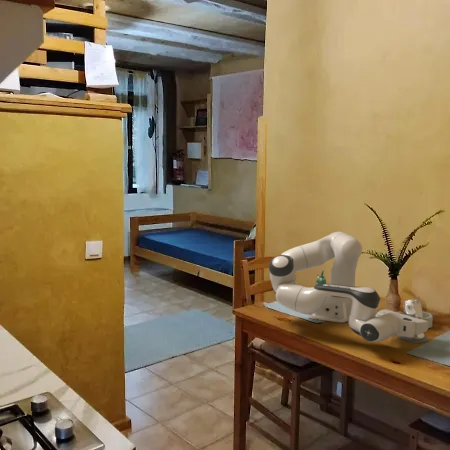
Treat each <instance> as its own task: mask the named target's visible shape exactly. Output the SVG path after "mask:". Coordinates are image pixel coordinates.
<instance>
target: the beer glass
mask: <svg viewBox="0 0 450 450" xmlns="http://www.w3.org/2000/svg"><path fill="white" fill-rule="evenodd" d="M402 304H403V314H404V315H407V316H411V317H415V318H418V319H419V318H421V317H422V318H423V315H422V311H423V307H422V304H421V300H419V299H417V298H416V299H415V298H410V299H405V300H404V301H403V302H402ZM425 335H426V334H425V332H424V333H421V334H418V335H414V337H409V338H410V339H414V340H418V339H422V338H424V336H425Z"/></svg>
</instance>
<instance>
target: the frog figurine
mask: <svg viewBox="0 0 450 450" xmlns="http://www.w3.org/2000/svg"><path fill="white" fill-rule="evenodd" d="M324 272H325V271H324V269H323V270H321V274H320V276H319V274H317V275H316V276H317V277H316V278H317V280H316V282H315V285H317V284H321V283H326V284H327V279H326V277H325V276H324Z"/></svg>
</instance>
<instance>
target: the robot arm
mask: <svg viewBox="0 0 450 450" xmlns="http://www.w3.org/2000/svg"><path fill="white" fill-rule="evenodd" d="M362 252H363V247H362V244H361V242H360V241H359V239H357V238H356V237H354V236H353V235H350V234H348V233H346V232H343V231H335V232H334V231H333V232H331V233H330V234H328V235H326V236H324V237H322V238H320V239H317V240H315V241H314V240H313V241H312V242H308V243H305V244H302V245H301V244H300V245H299V246H295V247H292V248H290V249H287V250H286V251H284V252H282V253H280V255H276V256H274V257H273V258H272V259H271V260H269V264H268V270H269V279H270V282H271V286H272V290H273V293H274V294H275V299H276V302H278V304H280V305H281V306H284V307H285V308H287V309H289V310H291V311H293V312H296V313H300V314H304V315H307V317H308V318H310V319H311V320H317V319H318V320H319V321H325V322H326V321H327V322H334V323H343V324H344V323H347V325H348V326H349V328H350V329H351V330H352V332H353V333H354V334H356V335H358V336H360V337H361V338H362V339H363V340H365V341H366V342H368V343H376V342H377V343H378V342H383V341H385V340H388V339H389V338H393V337H397V336H404V337H414V335H418V334H421V333H424V334H425V333H426V332H427V331H428V330H429V328H428V321H425V318H422V317H421V318H419V319H418V318H415V317H411V316H407V315H404V311H393V310H389V309H380V310H379V311H378V307H379V304H380V301H381V296H380V295H379V294H378V291H376V289H374V288H373V287H368V286H355V285H356V270H357V267H358V266H357V265H358V262H359V258H360V257H361V255H362ZM332 259H333V264H332V265H331V266H332V267H331V269H330V279H329V280H330V283H327V282H326V283H321V284H318V283H317V284H315V285H314V286H313V287H312V286H311V287H307V286H303V285H301V284H300V285H299V284H297V276H296V273H297V272H300V271H306V270H308V269H312V268H316V267H318V266H321V265H324V264H325V263H326V262H328V261H330V260H332ZM318 320H317V321H318Z"/></svg>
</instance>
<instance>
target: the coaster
mask: <svg viewBox="0 0 450 450" xmlns="http://www.w3.org/2000/svg"><path fill="white" fill-rule="evenodd" d="M424 335H425V336H424V338H422V339H418V340H414V339H410V338H409V337H404V336H396V338H398V339H399V340H401V341H403V342H408V343H412V344H422V343H427V342H428V341H429V337H428V336H427V335H426V334H424Z"/></svg>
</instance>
